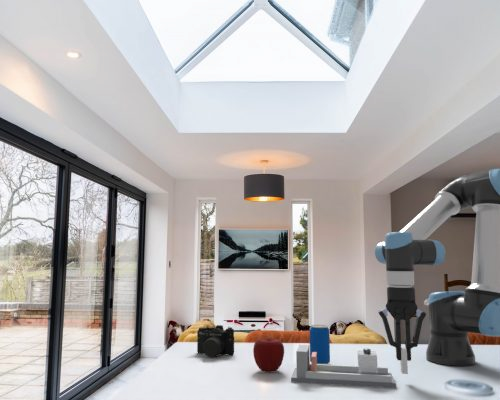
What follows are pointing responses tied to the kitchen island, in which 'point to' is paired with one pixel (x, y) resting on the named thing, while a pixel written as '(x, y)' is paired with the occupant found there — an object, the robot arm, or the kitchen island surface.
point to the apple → (268, 354)
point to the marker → (314, 361)
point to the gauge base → (337, 373)
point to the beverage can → (320, 343)
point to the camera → (215, 341)
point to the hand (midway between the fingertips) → (404, 372)
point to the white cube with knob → (367, 362)
